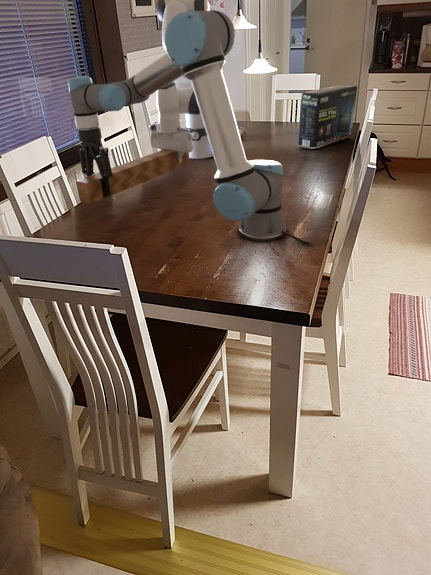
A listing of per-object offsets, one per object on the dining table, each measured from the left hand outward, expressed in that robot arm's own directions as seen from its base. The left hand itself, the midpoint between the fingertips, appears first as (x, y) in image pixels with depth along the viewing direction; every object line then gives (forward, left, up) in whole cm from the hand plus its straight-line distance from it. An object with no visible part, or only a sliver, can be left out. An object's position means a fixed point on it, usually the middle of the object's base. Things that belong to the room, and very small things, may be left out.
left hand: (172, 160), depth 191 cm
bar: (+19, -8, -3) cm, 20 cm away
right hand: (+37, -16, -2) cm, 40 cm away
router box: (-73, +62, -10) cm, 96 cm away
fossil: (-81, +8, -10) cm, 82 cm away
